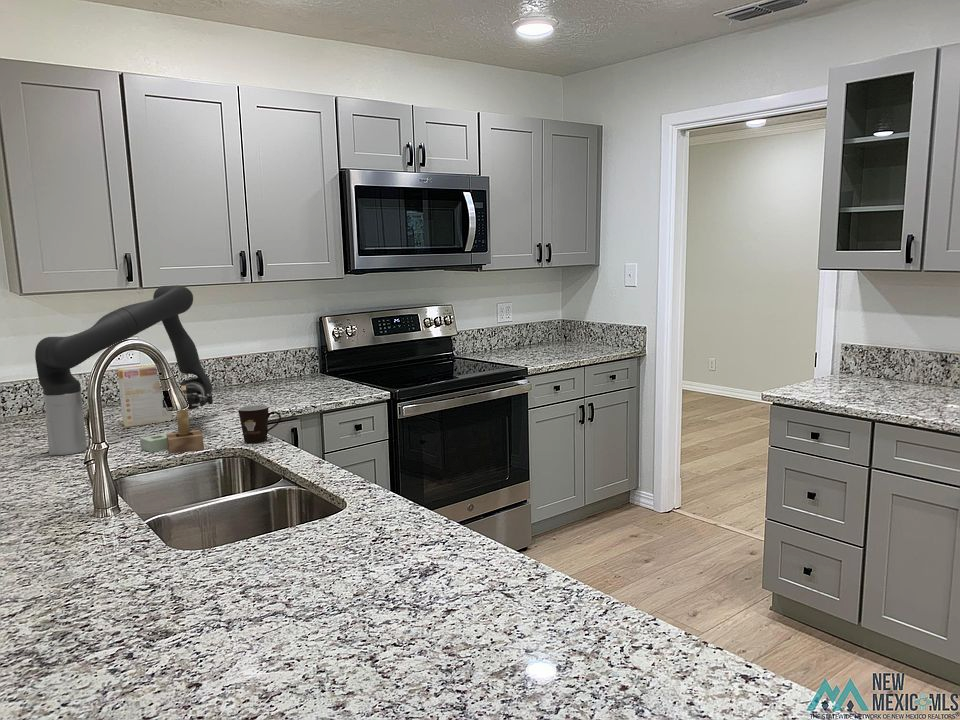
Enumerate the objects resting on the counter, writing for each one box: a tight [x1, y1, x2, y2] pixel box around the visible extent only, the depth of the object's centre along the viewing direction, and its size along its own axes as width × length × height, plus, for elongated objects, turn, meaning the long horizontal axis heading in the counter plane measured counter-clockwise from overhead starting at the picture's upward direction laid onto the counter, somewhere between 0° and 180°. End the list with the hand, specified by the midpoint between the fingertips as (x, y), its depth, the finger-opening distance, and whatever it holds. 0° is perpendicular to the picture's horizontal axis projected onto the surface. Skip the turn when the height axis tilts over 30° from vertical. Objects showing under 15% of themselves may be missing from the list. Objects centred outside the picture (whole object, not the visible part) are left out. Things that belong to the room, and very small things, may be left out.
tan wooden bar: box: [176, 386, 191, 437], centre depth 204 cm, size 3×3×18 cm
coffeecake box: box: [117, 364, 174, 428], centre depth 243 cm, size 15×7×20 cm, turn 123°
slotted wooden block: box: [165, 429, 205, 455], centre depth 205 cm, size 9×9×4 cm
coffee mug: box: [237, 404, 282, 445], centre depth 210 cm, size 12×9×10 cm
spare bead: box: [139, 432, 168, 453], centre depth 207 cm, size 7×7×3 cm
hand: (186, 404), depth 215 cm, fingers open, 8 cm apart
